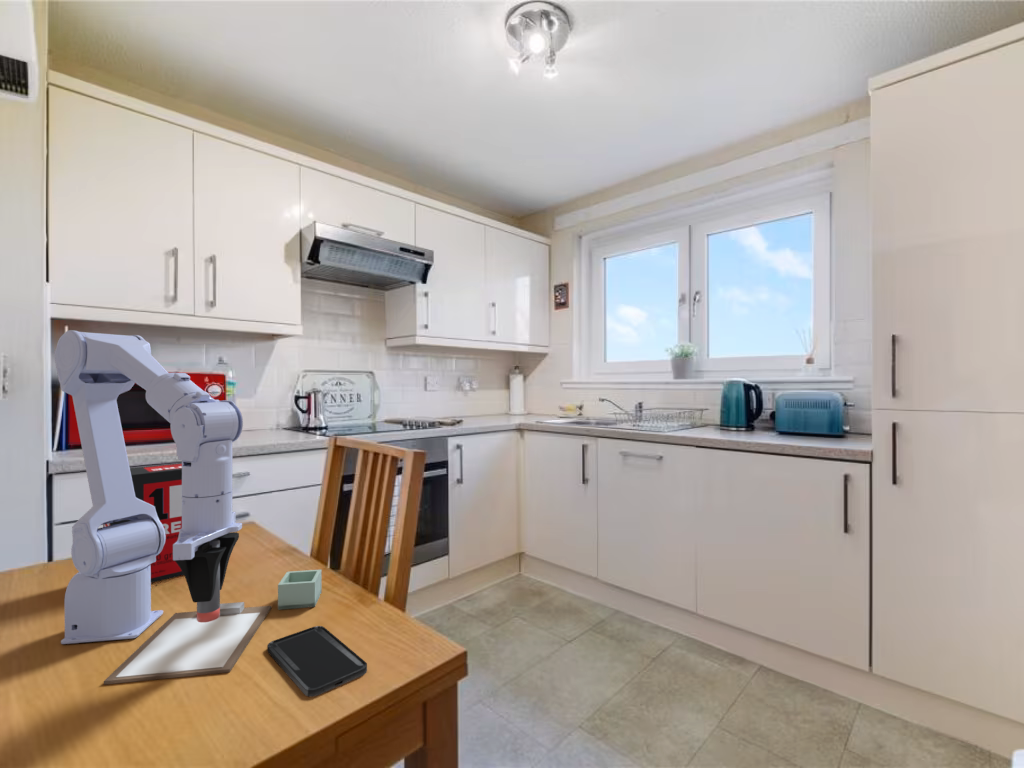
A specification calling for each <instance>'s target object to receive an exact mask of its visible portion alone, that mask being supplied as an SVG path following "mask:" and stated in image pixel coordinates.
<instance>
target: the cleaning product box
mask: <svg viewBox="0 0 1024 768" xmlns="http://www.w3.org/2000/svg"><path fill="white" fill-rule="evenodd" d="M130 472H131V477H132V482H133V487H134V492H135V497H136V498H138V499H140V500H142V501H144V502H146V503H149V504H151V505H153V506H154V507H155V509H156V513H157V516H158V518H159V520H160V522H161V523H162V525H163V527H164V530H165V535H166V539H165V544H164V547H163V549H162V551H161V552H160V554H158V555H156V562H154V563H151V584H152V583H155V582H159V581H164V580H167V579H168V580H169V579H172V578H176V577H180V575H181V576H184V574H183V572H182V570H181V568H180V567H179V566H178V564H177V563H176V562H175V561H174V560H173V544H174V543H176V542H177V540H178V536H179V532H180V529H181V528H182V462H177V463H169V464H159V465H158V464H157V465H147V466H137V467H130ZM128 521H132V520H121V521H117V522H113V523H108V524H104V525H102V527H107V526H111V525H115V524H120V523H124V522H128Z"/></svg>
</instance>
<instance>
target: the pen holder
mask: <svg viewBox="0 0 1024 768" xmlns="http://www.w3.org/2000/svg"><path fill="white" fill-rule="evenodd" d="M322 580H323V579H322V568H321V569H310V570H309V569H308V570H306V569H305V570H293V571H286V573H285V574H284V576H283V577H282V578H281V580H280V581H279V582H278V584H277V610H290V609H304V608H316V605H317V603H318V601H319V599H320V596H321V595H320V594H322V586H323V585H322Z"/></svg>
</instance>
